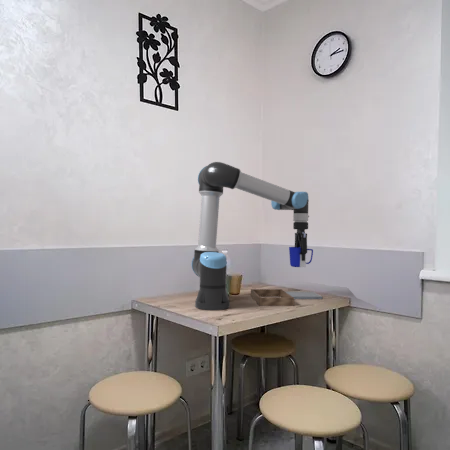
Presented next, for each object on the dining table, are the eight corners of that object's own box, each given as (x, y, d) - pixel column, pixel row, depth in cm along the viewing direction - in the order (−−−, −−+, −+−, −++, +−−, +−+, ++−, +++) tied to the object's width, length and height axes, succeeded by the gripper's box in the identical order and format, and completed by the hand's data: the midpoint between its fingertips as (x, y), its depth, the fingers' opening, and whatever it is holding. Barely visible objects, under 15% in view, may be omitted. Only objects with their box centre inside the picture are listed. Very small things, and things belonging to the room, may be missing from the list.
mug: (313, 268, 180) (313, 248, 180) (288, 267, 183) (289, 247, 183) (312, 266, 189) (312, 247, 189) (289, 265, 191) (289, 246, 191)
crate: (259, 305, 162) (259, 297, 162) (250, 296, 185) (250, 289, 185) (293, 305, 163) (293, 298, 163) (281, 296, 186) (281, 289, 186)
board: (287, 299, 179) (287, 296, 179) (280, 293, 193) (280, 291, 193) (322, 299, 180) (322, 296, 180) (312, 293, 194) (312, 291, 194)
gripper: (314, 221, 177) (313, 268, 177) (302, 222, 196) (301, 264, 196) (299, 221, 176) (298, 268, 176) (288, 221, 196) (288, 264, 196)
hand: (300, 266), depth 186 cm, fingers closed on mug, 7 cm apart
